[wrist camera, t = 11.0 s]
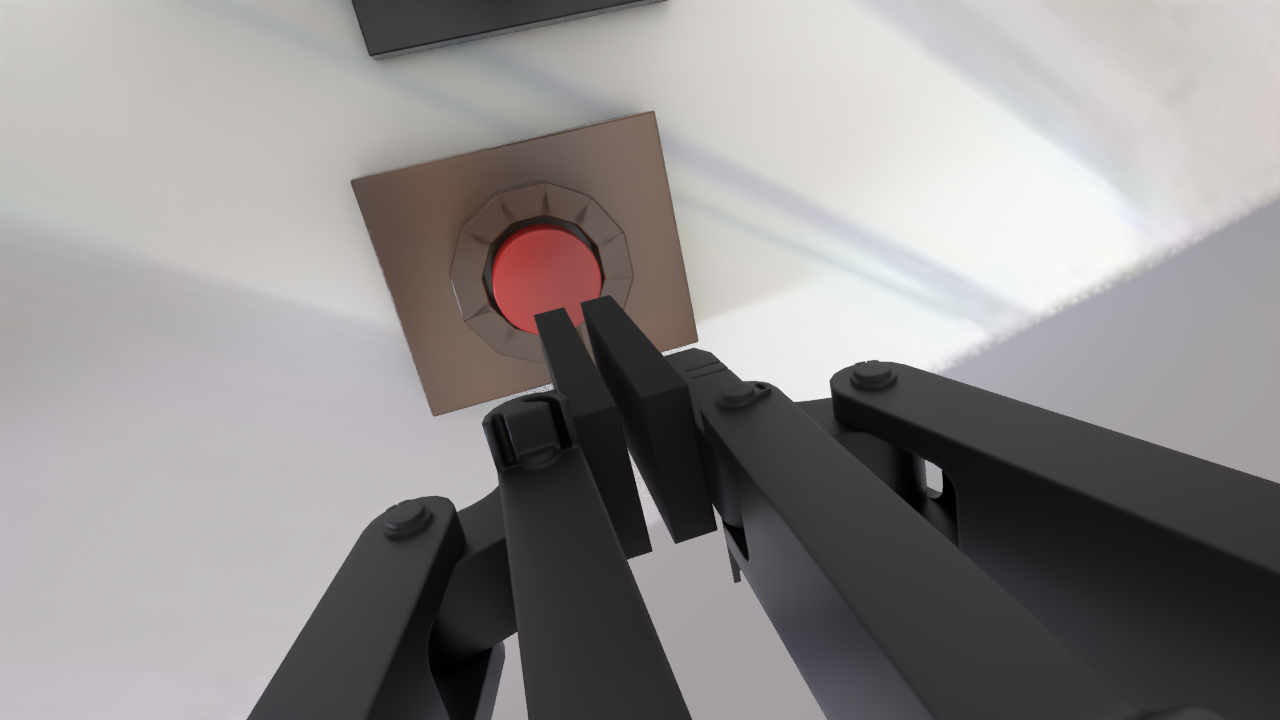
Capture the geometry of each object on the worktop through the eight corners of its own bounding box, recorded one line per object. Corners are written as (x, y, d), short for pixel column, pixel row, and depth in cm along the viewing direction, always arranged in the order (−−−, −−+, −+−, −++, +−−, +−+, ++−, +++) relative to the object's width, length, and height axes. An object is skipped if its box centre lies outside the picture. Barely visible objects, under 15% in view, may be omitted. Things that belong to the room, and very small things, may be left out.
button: (507, 336, 27) (509, 348, 26) (478, 237, 26) (478, 244, 24) (604, 309, 28) (612, 320, 26) (580, 212, 27) (588, 217, 25)
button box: (435, 399, 31) (430, 434, 27) (358, 177, 28) (340, 183, 24) (685, 329, 33) (712, 354, 29) (642, 111, 29) (666, 108, 26)
